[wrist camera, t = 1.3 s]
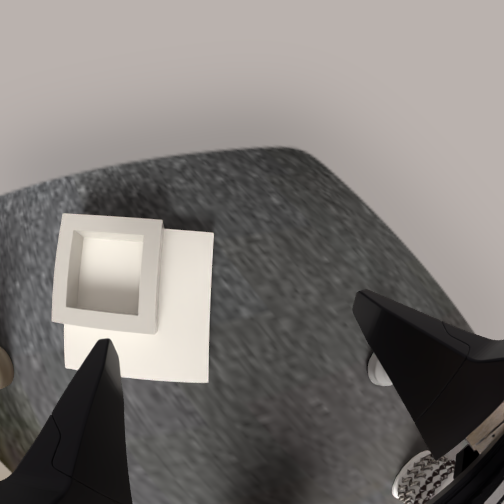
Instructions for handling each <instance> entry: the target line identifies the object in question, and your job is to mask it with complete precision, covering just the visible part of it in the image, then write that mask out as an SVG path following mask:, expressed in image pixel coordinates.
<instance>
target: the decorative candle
mask: <svg viewBox="0 0 504 504" xmlns="http://www.w3.org/2000/svg"><path fill="white" fill-rule="evenodd" d="M455 462H456V461H455V460H453V461H451V460H448V458H447V457H446V456H442V457H441V458H440V459H438V460H437V461H435V459H434V458H433V456H432V454H431V452H430V451H428V450H426V451H423V452H420V453H419V454H417V455H416V456H414V457H413V458H412V459H411V460H410V461H409V462H408V463H407V464H406V465H405V466H404V467H403V468H402V470H401V471H400V472H399V474H398V475H397V477H396V479H395V481H394V483H393V486H392V494H393V495H394V497H395V498H399V500H402V503H404V502H405V504H425V503H426V502H428V501H429V500H430V499H432V498H433V497H434V496H435V495H437V494H438V493H439V492H440V491H441V490H443V489H444V488H445V487H446V486H447V485H449V484H450V483H451V482H452V481H453V480H454V479H453V475H454V469H455ZM501 504H504V501H503V502H502V503H501Z"/></svg>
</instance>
